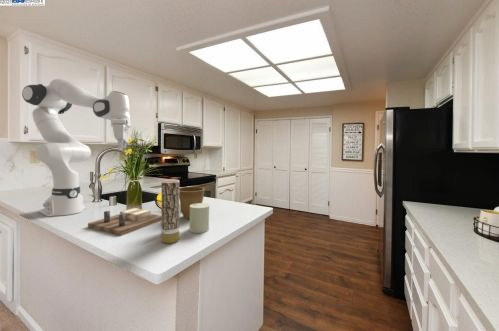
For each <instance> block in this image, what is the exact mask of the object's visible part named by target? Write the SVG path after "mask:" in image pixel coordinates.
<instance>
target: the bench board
mask: <svg viewBox="0 0 499 331" xmlns="http://www.w3.org/2000/svg"><path fill="white" fill-rule="evenodd" d="M160 221H161V215H159V214H154V213H151V217H148V218H145V219H142V220H139V221H135V220H130V219H126V218H125V214H120V213H119V214H115V215H113V216H111V211H110V210H106V211H103V218H102V219H98V220H95V221H90V222H88V223H87V228H89V229H93V230H98V231H101V232H104V233H110V234H113V235H117V236H121V237H122V236H124V235H126V234H130V233H132V232H136V231H137V230H140V229H143V228H145V227H148V226H150V225H153V224H155V223H158V222H160Z"/></svg>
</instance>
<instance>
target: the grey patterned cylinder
mask: <svg viewBox="0 0 499 331" xmlns="http://www.w3.org/2000/svg"><path fill="white" fill-rule="evenodd" d="M179 188H180V179H173V178H171V179H169V178H167V179H162V180H161V206H160V207H161V212H160V213H161V215H160V216H161V231H160V232H161V242H162V243H164V244H167V245H168V244H174V243H177V242H179V240H180V217H179Z"/></svg>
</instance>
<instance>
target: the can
mask: <svg viewBox="0 0 499 331" xmlns="http://www.w3.org/2000/svg"><path fill="white" fill-rule="evenodd" d="M210 207H211V206H210V204H208V203H205V202H202V203H196V204H191V205H190V219H189V228H188V230H189V232H191V233H193V234H194V233H195V234H201V233H202V234H203V233H206V232H208V231H209V230H210Z"/></svg>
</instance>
